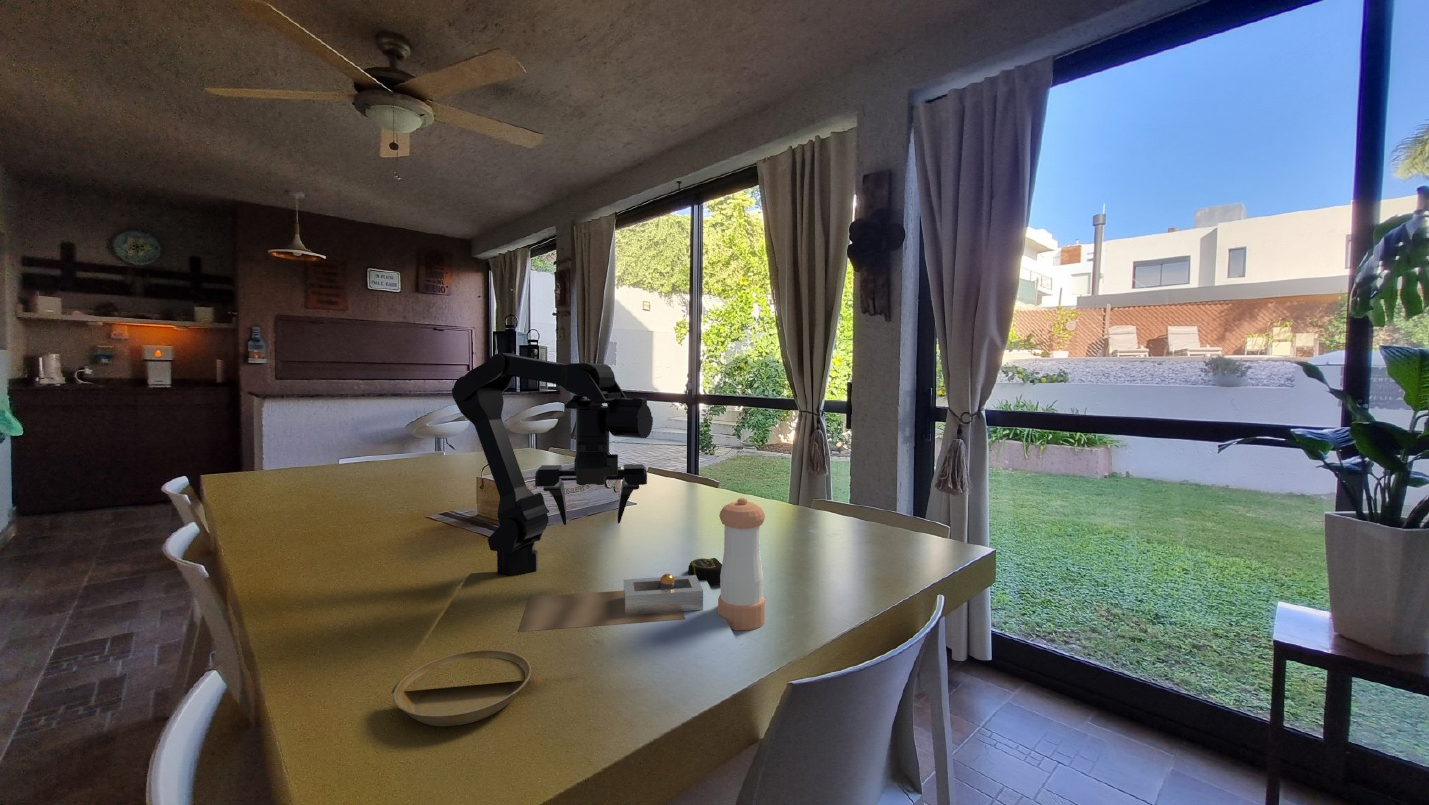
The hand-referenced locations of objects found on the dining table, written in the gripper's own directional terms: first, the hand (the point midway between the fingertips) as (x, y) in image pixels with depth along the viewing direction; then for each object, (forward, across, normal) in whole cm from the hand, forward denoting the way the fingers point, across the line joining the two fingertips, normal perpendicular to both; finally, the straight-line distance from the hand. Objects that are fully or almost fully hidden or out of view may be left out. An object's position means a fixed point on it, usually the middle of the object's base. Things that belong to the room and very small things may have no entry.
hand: (592, 523), depth 100 cm
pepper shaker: (+12, +23, -17) cm, 31 cm away
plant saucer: (+12, -14, -32) cm, 37 cm away
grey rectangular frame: (+10, +11, -12) cm, 19 cm away
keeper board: (+12, +2, -12) cm, 17 cm away
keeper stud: (+10, +12, -12) cm, 20 cm away
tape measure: (+12, +21, +1) cm, 25 cm away
